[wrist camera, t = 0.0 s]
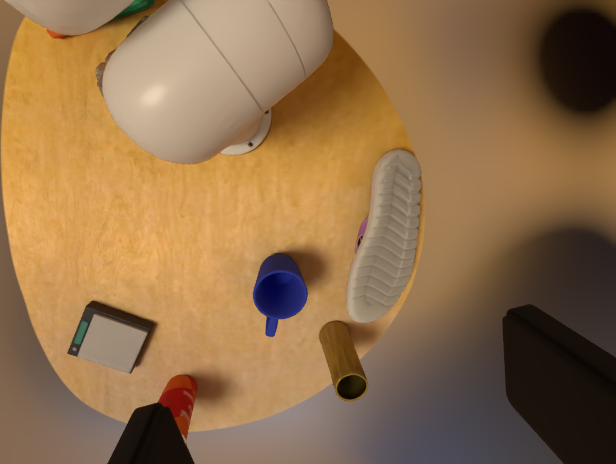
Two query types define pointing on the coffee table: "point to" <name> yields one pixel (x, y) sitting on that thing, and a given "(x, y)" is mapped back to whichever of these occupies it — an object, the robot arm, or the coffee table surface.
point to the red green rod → (140, 3)
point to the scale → (110, 337)
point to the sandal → (386, 238)
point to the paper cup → (180, 401)
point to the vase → (343, 361)
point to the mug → (279, 290)
